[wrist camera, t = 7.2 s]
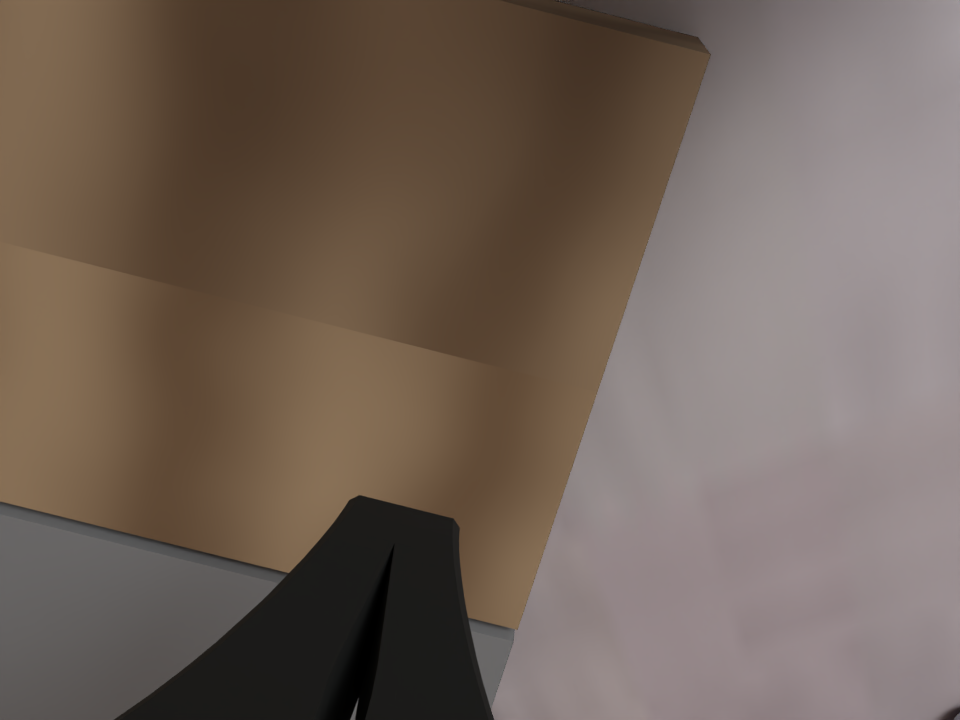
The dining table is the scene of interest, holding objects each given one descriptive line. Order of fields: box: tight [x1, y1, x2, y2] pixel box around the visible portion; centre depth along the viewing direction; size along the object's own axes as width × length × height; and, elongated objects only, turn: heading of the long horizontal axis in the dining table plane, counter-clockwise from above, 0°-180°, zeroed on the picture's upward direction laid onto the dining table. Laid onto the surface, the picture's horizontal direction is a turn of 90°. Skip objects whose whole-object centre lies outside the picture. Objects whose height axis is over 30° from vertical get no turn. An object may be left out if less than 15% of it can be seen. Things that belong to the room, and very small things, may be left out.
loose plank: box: [0, 501, 515, 720], centre depth 25 cm, size 16×12×2 cm
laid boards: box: [0, 0, 711, 630], centre depth 19 cm, size 16×14×2 cm
